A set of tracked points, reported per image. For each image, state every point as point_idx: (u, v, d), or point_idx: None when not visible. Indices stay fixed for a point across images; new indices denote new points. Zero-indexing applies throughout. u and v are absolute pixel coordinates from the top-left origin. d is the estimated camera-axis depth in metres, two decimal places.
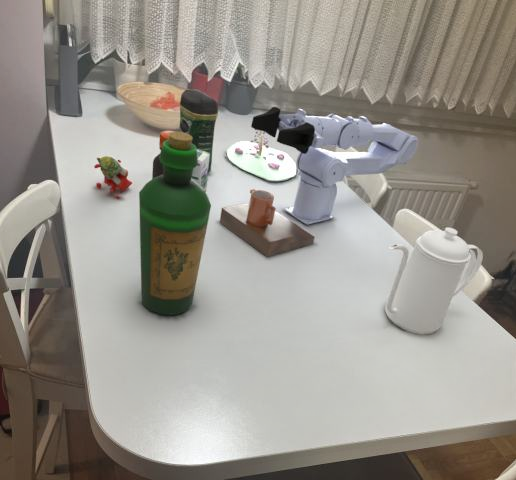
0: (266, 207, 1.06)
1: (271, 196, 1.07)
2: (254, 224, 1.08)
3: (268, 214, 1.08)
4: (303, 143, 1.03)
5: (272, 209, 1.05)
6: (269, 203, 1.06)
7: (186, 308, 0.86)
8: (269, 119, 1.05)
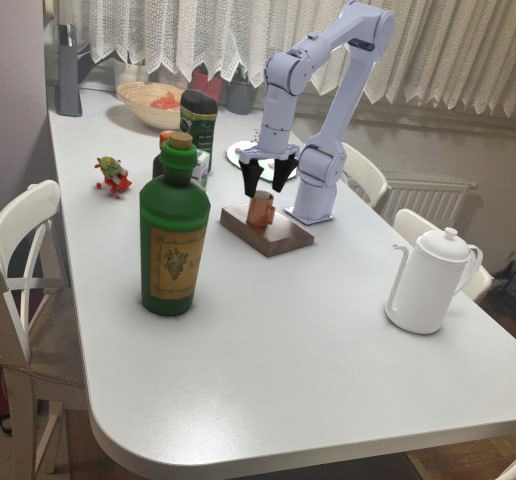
0: (266, 207, 1.06)
1: (271, 196, 1.07)
2: (254, 224, 1.08)
3: (268, 214, 1.08)
4: None
5: (272, 209, 1.05)
6: (269, 203, 1.06)
7: (186, 308, 0.86)
8: None
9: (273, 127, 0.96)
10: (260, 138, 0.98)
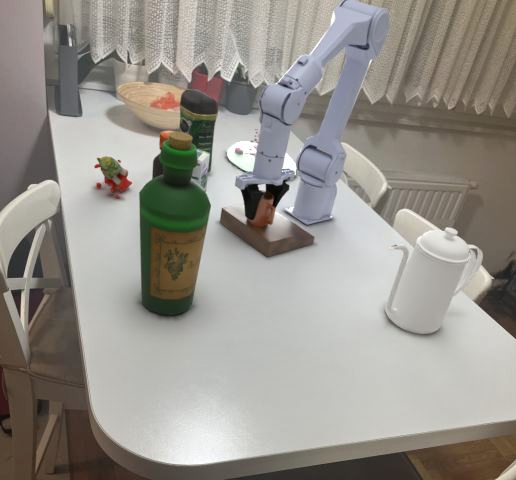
0: (266, 207, 1.06)
1: (271, 196, 1.07)
2: (254, 224, 1.08)
3: (268, 214, 1.08)
4: None
5: (272, 209, 1.05)
6: (269, 203, 1.06)
7: (186, 308, 0.86)
8: None
9: (268, 154, 0.99)
10: (255, 164, 1.02)
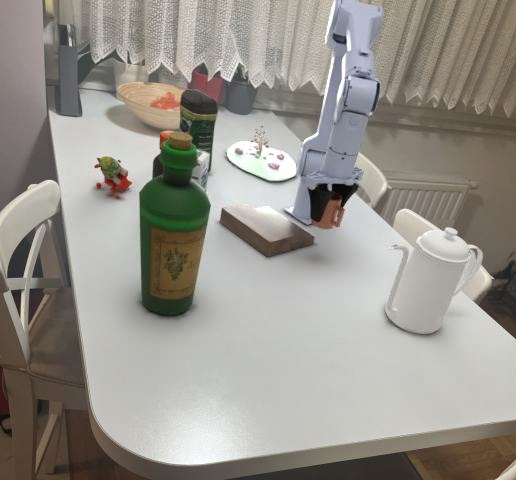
0: (334, 208, 0.99)
1: (339, 196, 1.00)
2: (319, 227, 1.02)
3: (335, 216, 1.01)
4: None
5: (341, 210, 0.99)
6: (338, 204, 0.99)
7: (186, 308, 0.86)
8: None
9: (351, 153, 0.92)
10: (326, 162, 0.95)
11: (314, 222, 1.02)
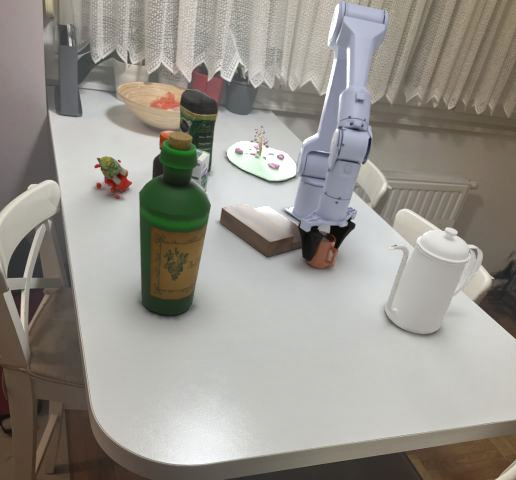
0: (328, 249, 1.04)
1: (333, 238, 1.05)
2: (314, 266, 1.07)
3: (329, 256, 1.06)
4: None
5: (335, 251, 1.04)
6: (331, 245, 1.04)
7: (186, 308, 0.86)
8: None
9: (345, 198, 0.97)
10: (321, 205, 1.00)
11: (309, 261, 1.07)
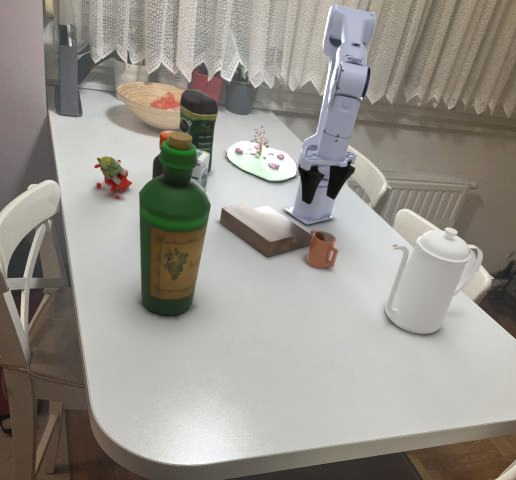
0: (328, 249, 1.04)
1: (333, 238, 1.05)
2: (314, 266, 1.07)
3: (329, 256, 1.06)
4: None
5: (335, 251, 1.04)
6: (331, 245, 1.04)
7: (186, 308, 0.86)
8: None
9: (344, 136, 0.97)
10: (320, 145, 1.00)
11: (309, 261, 1.07)
